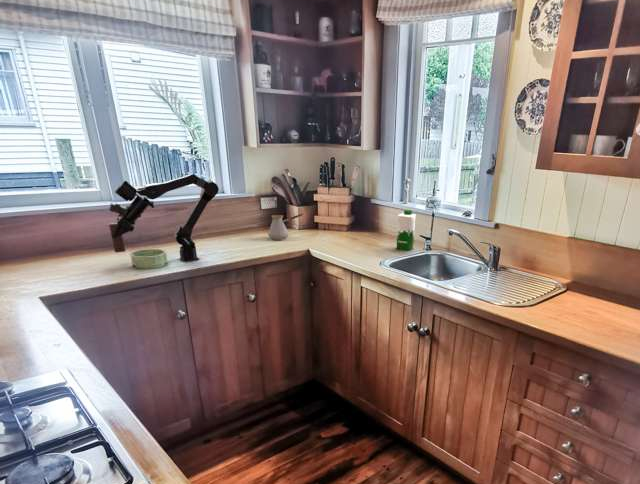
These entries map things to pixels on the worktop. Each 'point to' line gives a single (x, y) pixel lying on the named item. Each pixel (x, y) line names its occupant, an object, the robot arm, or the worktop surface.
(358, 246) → the worktop surface
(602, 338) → the worktop surface
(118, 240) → the brown wooden block
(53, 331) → the worktop surface
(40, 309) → the worktop surface
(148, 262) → the bowl
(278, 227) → the coffee pot
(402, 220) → the milk carton
